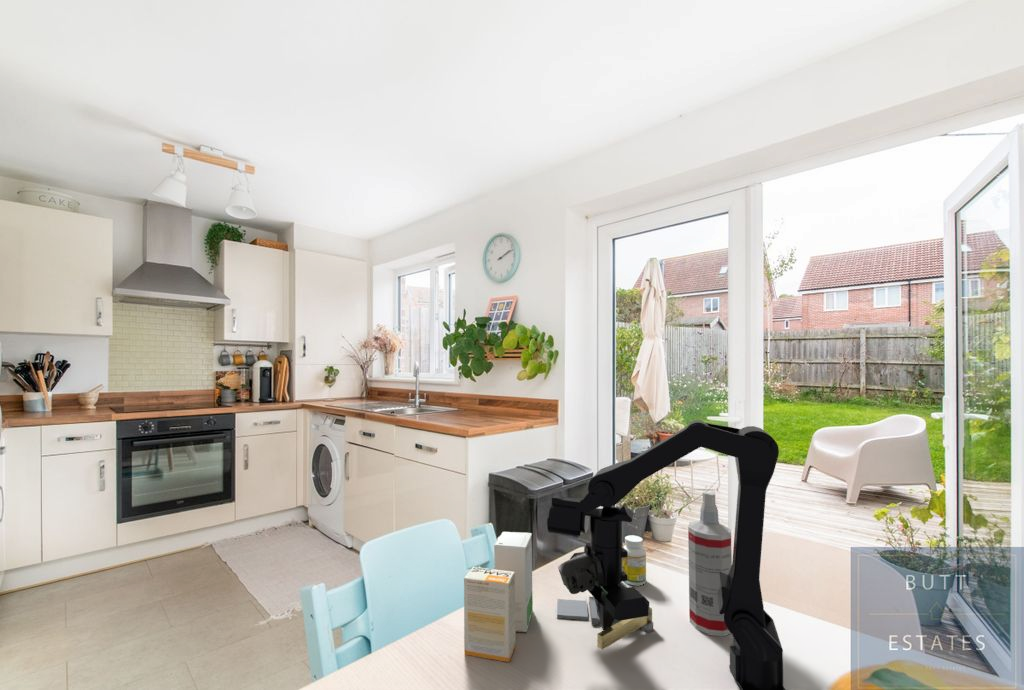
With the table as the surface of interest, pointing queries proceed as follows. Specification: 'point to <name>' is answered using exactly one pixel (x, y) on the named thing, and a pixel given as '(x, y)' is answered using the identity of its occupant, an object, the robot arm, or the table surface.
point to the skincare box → (517, 572)
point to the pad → (572, 609)
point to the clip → (621, 630)
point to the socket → (595, 617)
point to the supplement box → (489, 613)
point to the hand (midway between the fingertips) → (605, 630)
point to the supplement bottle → (635, 561)
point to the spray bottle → (708, 567)
